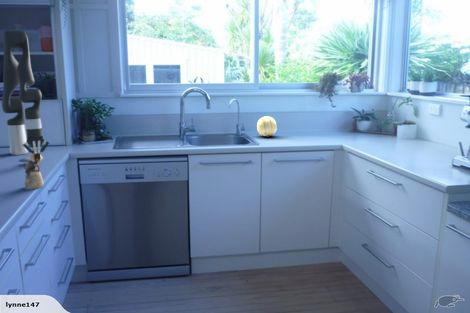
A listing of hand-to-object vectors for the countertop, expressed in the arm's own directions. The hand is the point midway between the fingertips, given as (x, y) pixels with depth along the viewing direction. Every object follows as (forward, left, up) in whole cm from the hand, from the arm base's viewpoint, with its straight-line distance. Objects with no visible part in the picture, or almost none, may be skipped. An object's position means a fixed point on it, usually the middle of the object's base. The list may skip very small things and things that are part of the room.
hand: (37, 160), depth 223 cm
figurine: (+41, -26, -2) cm, 49 cm away
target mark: (-14, +5, -2) cm, 14 cm away
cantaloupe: (+54, +145, -2) cm, 154 cm away
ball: (-4, +1, +1) cm, 4 cm away
